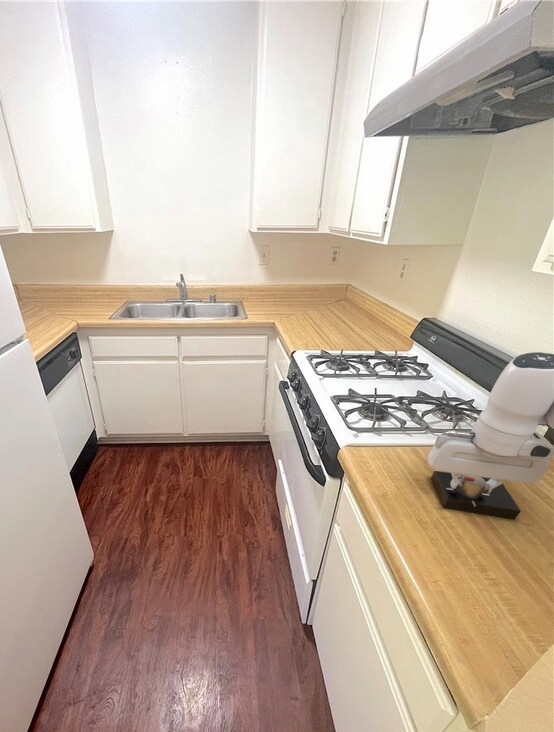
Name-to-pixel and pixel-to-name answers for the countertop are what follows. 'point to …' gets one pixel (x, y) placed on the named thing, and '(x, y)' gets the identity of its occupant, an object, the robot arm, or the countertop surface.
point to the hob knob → (471, 486)
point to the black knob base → (486, 504)
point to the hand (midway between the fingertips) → (469, 489)
